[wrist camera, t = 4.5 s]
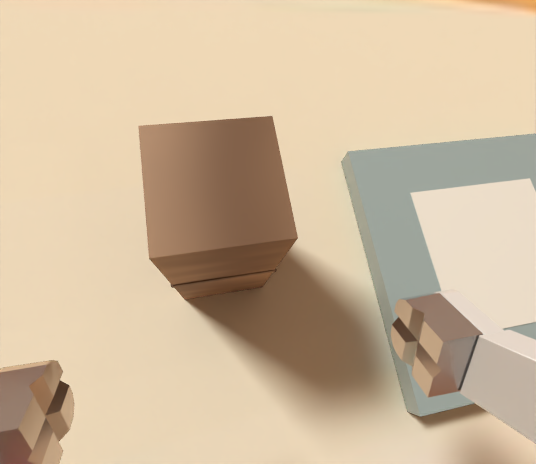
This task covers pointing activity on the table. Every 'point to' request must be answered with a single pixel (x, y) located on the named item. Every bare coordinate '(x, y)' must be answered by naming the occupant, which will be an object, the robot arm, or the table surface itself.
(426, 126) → the table surface
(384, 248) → the plate
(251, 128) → the walnut block
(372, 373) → the table surface
